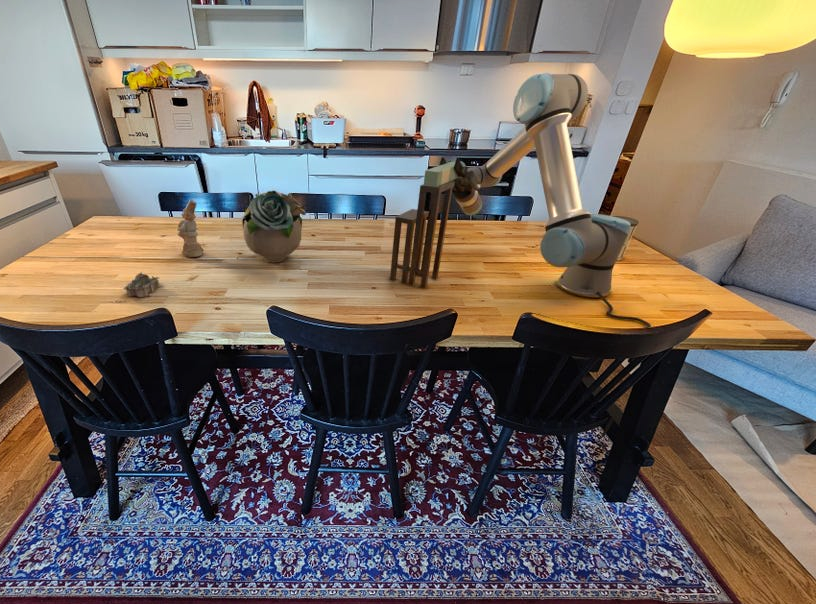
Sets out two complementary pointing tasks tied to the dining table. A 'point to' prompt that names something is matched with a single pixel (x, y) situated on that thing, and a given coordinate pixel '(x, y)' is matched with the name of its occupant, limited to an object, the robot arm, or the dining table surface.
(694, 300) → the dining table surface
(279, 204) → the flower arrangement
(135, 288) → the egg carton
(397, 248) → the step rack
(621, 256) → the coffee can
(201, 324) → the dining table surface
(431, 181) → the sage box
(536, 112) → the robot arm
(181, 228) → the figurine
